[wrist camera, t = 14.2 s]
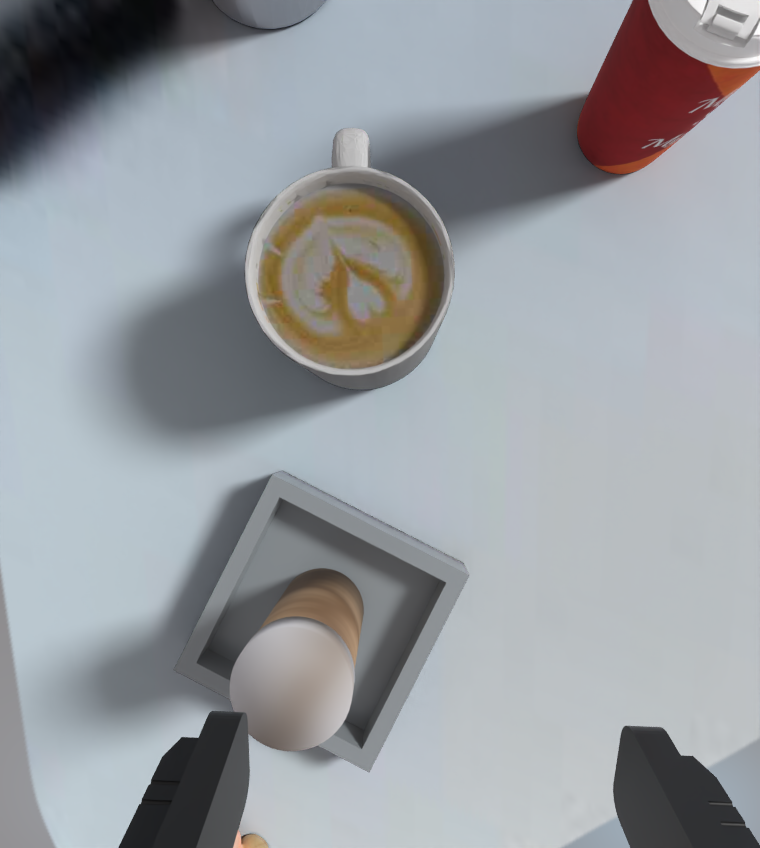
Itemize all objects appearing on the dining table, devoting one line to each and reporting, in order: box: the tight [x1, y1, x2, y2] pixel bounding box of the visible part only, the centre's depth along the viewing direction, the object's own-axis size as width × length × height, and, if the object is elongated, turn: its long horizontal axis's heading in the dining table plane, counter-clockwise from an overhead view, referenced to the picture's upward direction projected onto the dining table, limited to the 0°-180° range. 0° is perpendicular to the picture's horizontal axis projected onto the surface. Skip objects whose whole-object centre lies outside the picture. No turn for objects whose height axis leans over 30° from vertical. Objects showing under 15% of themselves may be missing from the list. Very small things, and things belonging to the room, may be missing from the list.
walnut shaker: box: [230, 568, 364, 751], centre depth 31 cm, size 5×5×11 cm
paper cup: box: [577, 0, 760, 174], centre depth 30 cm, size 8×8×14 cm
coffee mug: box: [245, 128, 455, 390], centre depth 32 cm, size 13×10×10 cm
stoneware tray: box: [174, 471, 469, 772], centre depth 36 cm, size 13×13×3 cm
